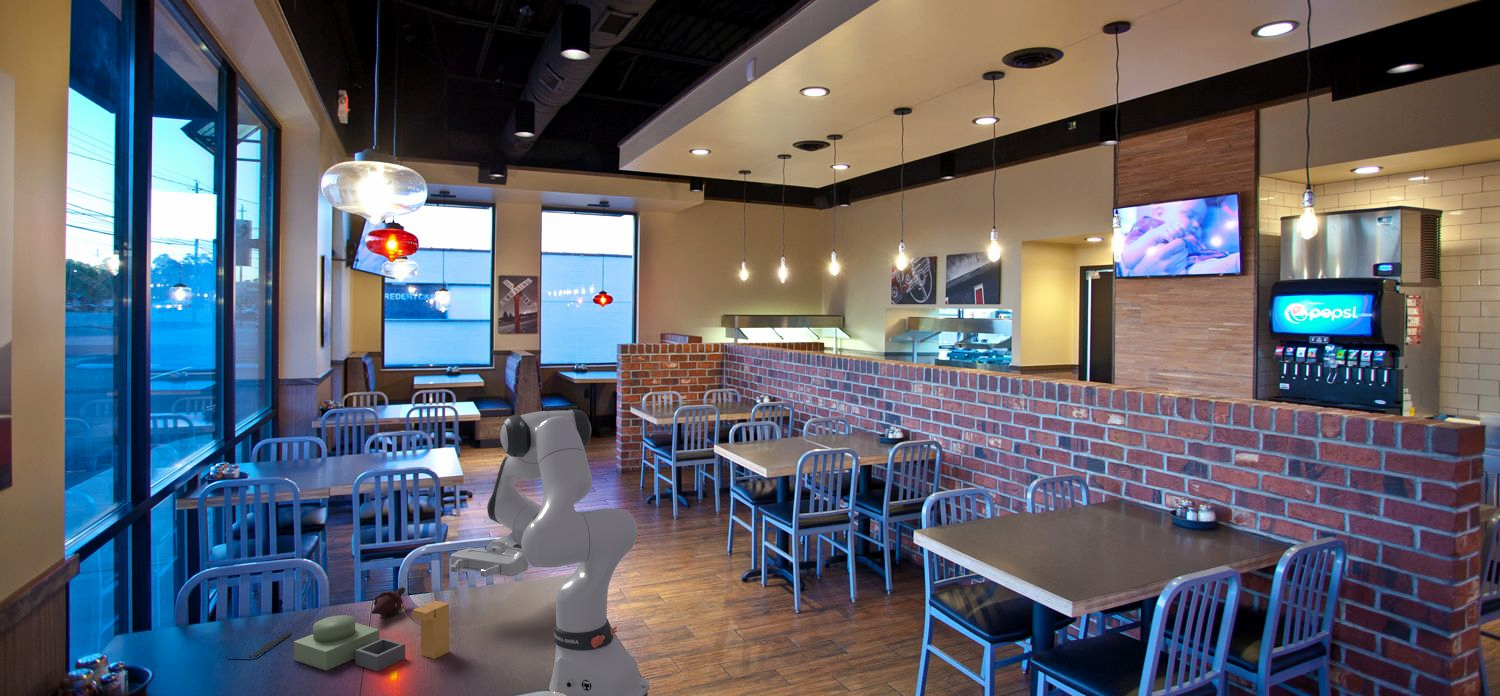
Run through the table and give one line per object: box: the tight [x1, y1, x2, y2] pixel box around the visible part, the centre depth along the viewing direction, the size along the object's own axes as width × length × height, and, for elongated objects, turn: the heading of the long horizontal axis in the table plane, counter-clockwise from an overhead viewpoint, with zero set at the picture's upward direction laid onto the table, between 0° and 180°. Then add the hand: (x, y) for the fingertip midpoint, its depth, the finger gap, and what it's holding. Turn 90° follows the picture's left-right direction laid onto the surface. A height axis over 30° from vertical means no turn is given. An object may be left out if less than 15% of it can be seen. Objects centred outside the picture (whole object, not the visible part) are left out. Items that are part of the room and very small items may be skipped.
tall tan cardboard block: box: [412, 600, 450, 660], centre depth 185 cm, size 4×7×12 cm
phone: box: [227, 631, 293, 658], centre depth 190 cm, size 7×1×15 cm
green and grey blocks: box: [293, 614, 406, 672], centre depth 183 cm, size 23×14×8 cm, turn 63°
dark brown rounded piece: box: [371, 586, 406, 618], centre depth 209 cm, size 7×7×15 cm
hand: (467, 571), depth 197 cm, fingers open, 8 cm apart
